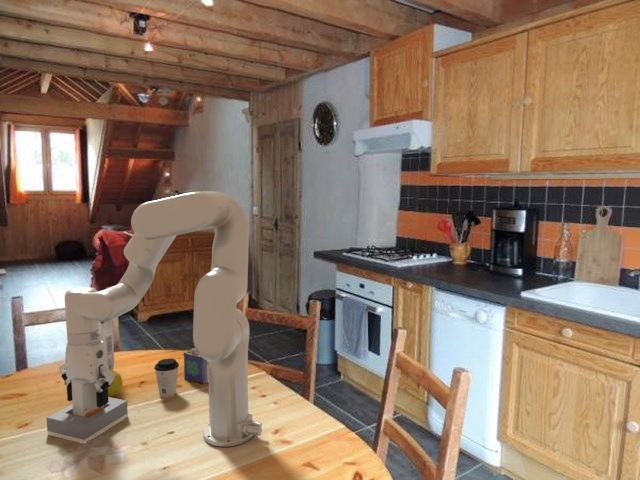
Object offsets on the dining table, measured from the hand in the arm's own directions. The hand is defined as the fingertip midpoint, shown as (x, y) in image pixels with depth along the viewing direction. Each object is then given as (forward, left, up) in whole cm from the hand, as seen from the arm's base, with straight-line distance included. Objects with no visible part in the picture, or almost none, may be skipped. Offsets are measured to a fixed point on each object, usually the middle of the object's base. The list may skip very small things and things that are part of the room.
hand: (88, 401), depth 117 cm
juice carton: (+25, -26, -7) cm, 37 cm away
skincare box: (0, 0, -6) cm, 6 cm away
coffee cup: (-7, -22, -7) cm, 24 cm away
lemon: (+7, -15, -7) cm, 18 cm away
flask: (-9, -33, -7) cm, 35 cm away
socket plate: (0, 0, -6) cm, 6 cm away
